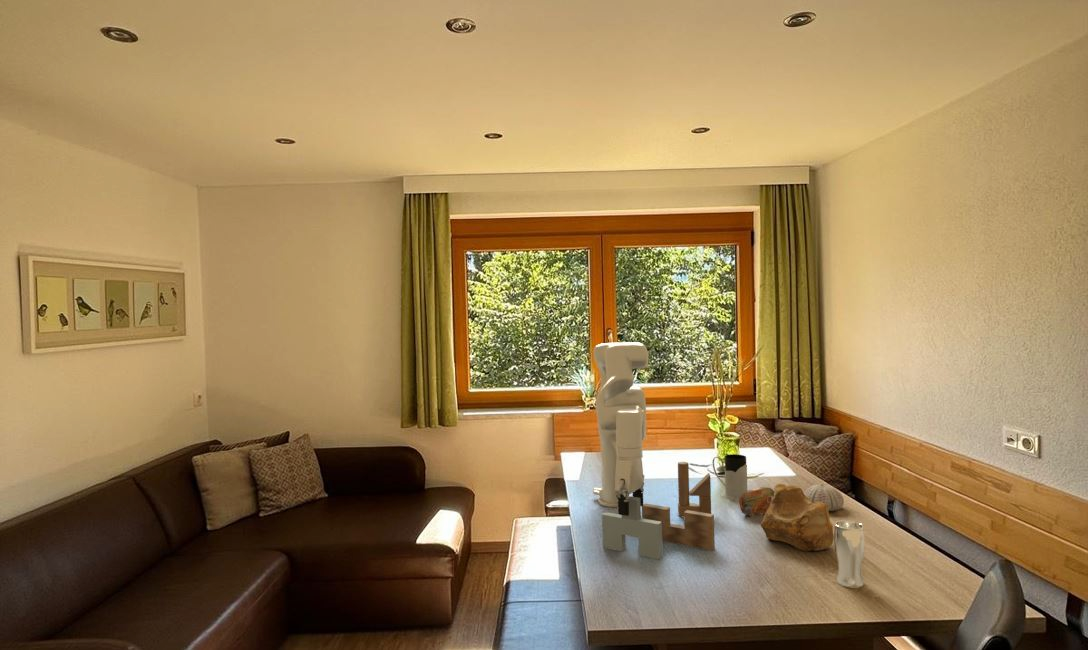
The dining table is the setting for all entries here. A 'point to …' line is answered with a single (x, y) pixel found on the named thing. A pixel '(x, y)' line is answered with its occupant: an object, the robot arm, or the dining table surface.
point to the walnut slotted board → (683, 527)
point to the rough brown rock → (797, 520)
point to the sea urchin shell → (825, 496)
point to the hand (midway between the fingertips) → (631, 510)
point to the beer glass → (849, 552)
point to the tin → (756, 501)
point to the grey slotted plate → (632, 530)
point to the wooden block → (693, 492)
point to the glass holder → (734, 476)
